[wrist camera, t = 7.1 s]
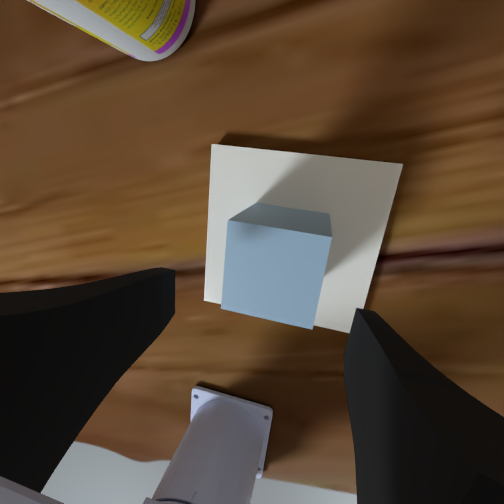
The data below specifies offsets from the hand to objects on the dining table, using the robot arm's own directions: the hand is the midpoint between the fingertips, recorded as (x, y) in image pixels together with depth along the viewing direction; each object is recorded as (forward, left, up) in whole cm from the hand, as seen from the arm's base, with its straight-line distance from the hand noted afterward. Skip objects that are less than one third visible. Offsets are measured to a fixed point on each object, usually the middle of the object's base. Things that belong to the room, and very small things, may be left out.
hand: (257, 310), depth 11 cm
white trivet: (0, 0, -10) cm, 10 cm away
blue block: (0, 0, -9) cm, 9 cm away
